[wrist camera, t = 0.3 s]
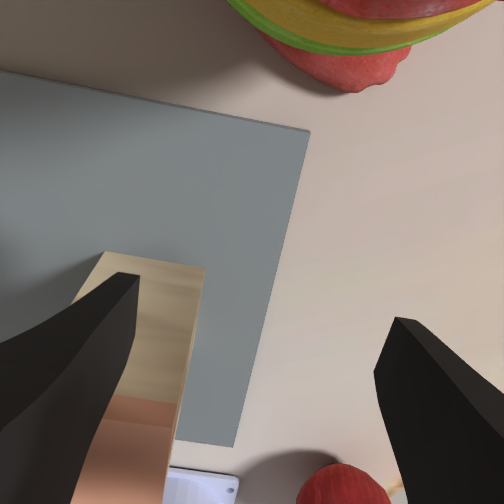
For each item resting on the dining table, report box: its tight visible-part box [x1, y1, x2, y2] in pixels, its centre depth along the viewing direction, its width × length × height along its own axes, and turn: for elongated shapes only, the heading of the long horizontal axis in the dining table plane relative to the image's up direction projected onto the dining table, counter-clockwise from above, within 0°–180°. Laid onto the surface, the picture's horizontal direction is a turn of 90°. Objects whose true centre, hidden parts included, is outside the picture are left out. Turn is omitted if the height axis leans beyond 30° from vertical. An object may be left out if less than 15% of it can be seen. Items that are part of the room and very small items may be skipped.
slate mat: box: [0, 70, 310, 448], centre depth 24 cm, size 20×20×1 cm
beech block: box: [70, 251, 206, 504], centre depth 20 cm, size 5×5×10 cm
